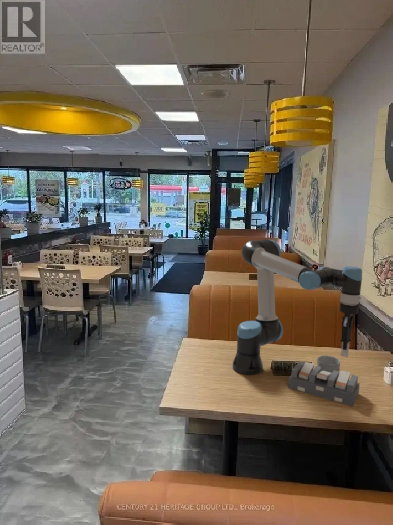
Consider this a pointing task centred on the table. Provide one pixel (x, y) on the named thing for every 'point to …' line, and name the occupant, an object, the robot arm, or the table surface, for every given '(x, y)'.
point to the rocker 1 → (306, 370)
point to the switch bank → (324, 385)
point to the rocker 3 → (342, 380)
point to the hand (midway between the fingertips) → (344, 355)
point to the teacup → (328, 363)
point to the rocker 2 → (323, 375)
